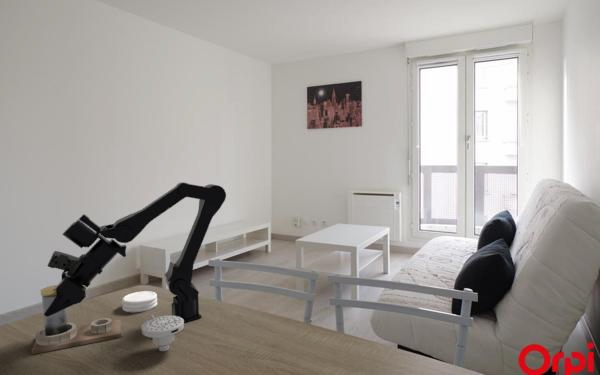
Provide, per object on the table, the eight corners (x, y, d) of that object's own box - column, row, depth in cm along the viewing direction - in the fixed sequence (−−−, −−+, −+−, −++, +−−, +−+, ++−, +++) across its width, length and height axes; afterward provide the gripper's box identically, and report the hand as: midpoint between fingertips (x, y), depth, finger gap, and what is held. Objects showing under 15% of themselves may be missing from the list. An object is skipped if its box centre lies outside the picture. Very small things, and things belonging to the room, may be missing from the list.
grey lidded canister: (60, 331, 101) (56, 284, 100) (74, 334, 99) (70, 286, 98) (39, 340, 97) (35, 290, 96) (54, 343, 95) (49, 293, 94)
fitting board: (120, 322, 109) (119, 312, 109) (121, 337, 100) (120, 325, 100) (38, 337, 101) (38, 325, 100) (32, 354, 92) (31, 341, 91)
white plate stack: (163, 302, 125) (163, 291, 125) (144, 314, 115) (144, 302, 115) (136, 300, 127) (135, 289, 127) (115, 312, 117) (114, 300, 117)
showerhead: (167, 308, 100) (191, 317, 94) (168, 336, 100) (192, 346, 94) (131, 320, 92) (156, 331, 86) (133, 350, 93) (157, 363, 87)
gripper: (72, 233, 106) (25, 279, 102) (65, 246, 90) (10, 302, 86) (106, 258, 110) (62, 303, 106) (106, 275, 94) (54, 330, 90)
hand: (48, 309), depth 97 cm, fingers open, 9 cm apart
